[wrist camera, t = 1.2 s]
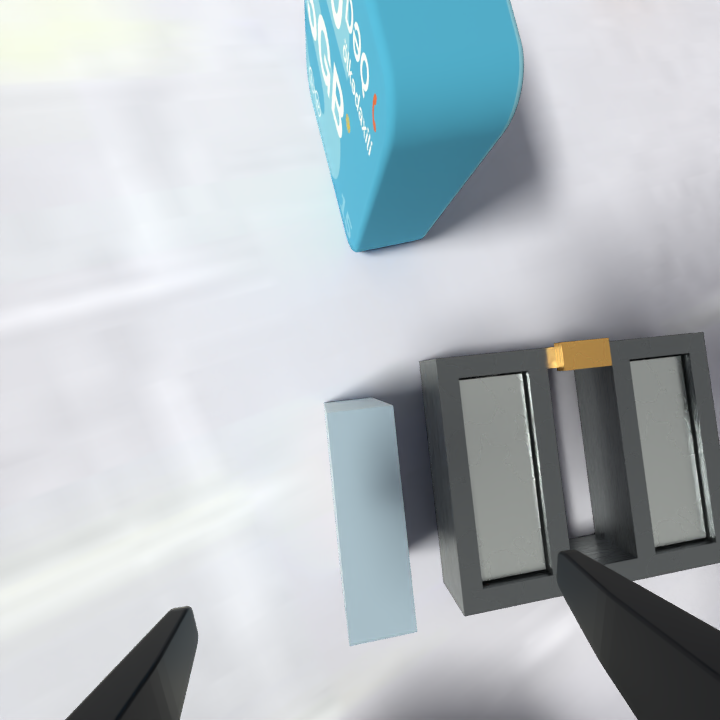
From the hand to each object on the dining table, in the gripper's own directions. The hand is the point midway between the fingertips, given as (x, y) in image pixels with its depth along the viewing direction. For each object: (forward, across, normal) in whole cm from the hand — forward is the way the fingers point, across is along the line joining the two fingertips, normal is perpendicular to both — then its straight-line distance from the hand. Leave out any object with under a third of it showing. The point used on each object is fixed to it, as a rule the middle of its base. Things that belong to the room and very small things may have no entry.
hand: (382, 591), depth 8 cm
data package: (+17, -2, -15) cm, 23 cm away
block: (+12, 0, +5) cm, 13 cm away
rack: (+12, -13, +5) cm, 19 cm away
